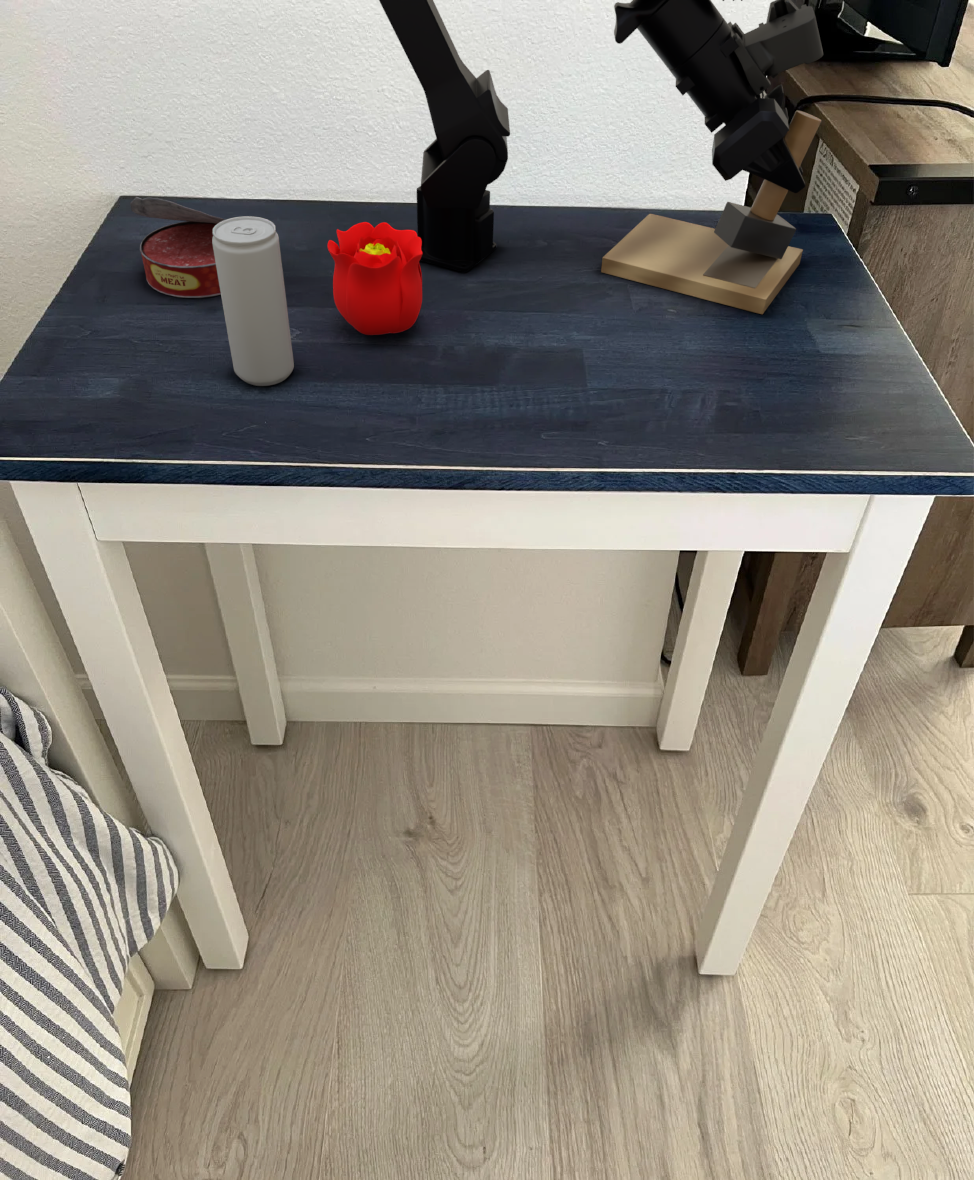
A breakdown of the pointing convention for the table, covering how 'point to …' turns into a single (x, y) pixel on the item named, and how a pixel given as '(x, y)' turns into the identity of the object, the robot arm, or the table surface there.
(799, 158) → the hammer
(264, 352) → the beverage can
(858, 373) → the table surface
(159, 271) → the canned food
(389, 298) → the flower
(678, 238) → the cutting board
